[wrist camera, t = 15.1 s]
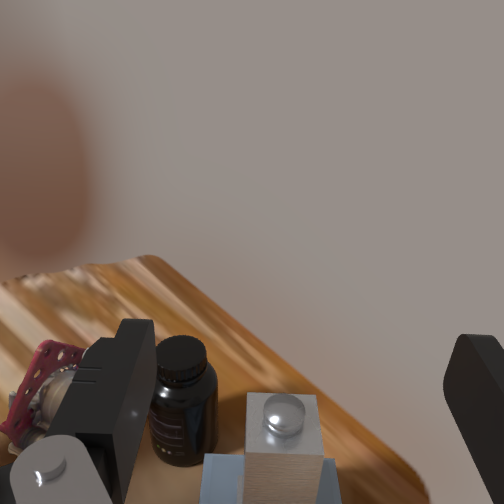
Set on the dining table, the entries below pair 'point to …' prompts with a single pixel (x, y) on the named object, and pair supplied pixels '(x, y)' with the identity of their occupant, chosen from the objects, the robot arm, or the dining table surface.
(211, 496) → the stand
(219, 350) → the dining table surface
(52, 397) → the brake caliper
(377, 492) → the dining table surface
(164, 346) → the supplement bottle
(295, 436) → the block
